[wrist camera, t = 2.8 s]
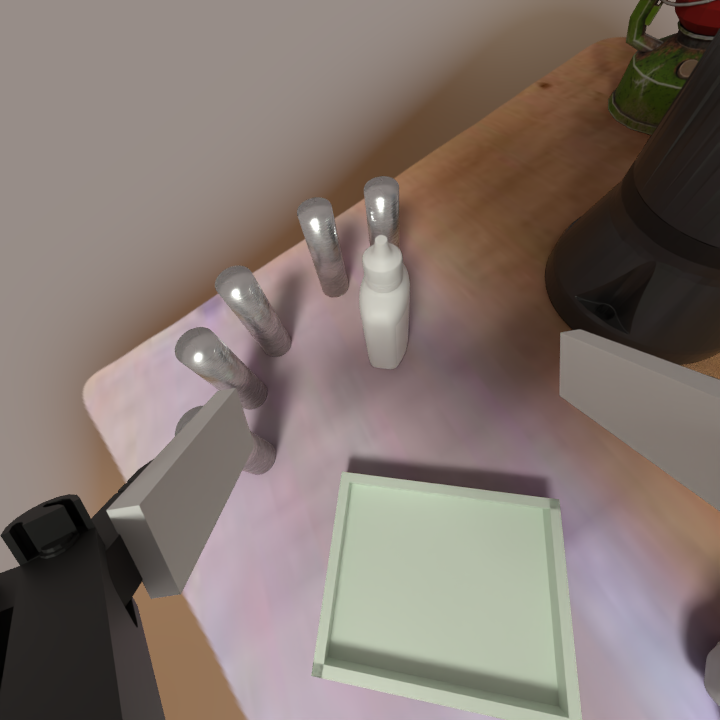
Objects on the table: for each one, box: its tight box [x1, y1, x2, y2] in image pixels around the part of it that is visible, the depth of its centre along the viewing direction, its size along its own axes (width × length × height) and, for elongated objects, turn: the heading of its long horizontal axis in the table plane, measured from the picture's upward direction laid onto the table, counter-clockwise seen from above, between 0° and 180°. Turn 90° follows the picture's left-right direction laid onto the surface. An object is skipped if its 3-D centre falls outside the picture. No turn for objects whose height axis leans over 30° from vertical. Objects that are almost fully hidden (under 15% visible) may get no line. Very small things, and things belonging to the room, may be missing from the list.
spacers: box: [175, 176, 399, 475], centre depth 27 cm, size 7×23×9 cm, turn 149°
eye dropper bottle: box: [359, 235, 410, 369], centre depth 24 cm, size 4×6×12 cm
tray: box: [311, 472, 582, 720], centre depth 21 cm, size 14×11×2 cm
